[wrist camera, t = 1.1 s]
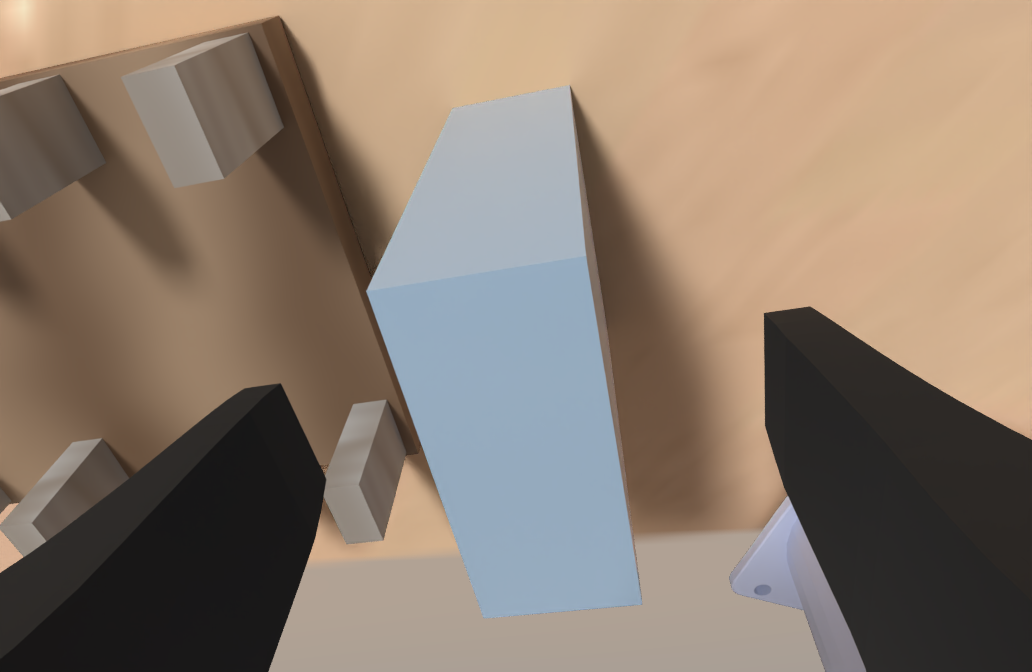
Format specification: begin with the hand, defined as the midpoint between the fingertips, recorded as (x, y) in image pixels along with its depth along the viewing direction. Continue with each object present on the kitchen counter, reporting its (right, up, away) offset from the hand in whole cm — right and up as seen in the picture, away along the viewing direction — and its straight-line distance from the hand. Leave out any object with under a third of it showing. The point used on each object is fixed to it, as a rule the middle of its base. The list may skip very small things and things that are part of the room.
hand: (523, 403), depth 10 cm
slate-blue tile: (0, +4, +6) cm, 7 cm away
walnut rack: (-10, +2, +7) cm, 13 cm away
